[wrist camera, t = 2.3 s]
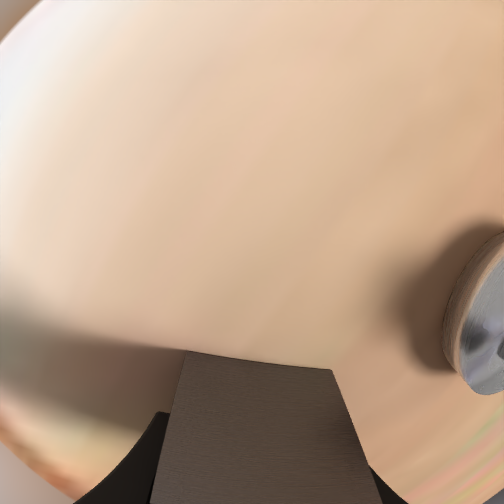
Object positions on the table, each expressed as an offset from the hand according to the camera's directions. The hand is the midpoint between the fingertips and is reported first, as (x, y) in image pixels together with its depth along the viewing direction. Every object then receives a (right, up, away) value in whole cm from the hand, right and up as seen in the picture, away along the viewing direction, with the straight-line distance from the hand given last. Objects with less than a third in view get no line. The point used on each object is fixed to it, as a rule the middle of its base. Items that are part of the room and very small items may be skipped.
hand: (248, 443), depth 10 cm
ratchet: (+17, +3, +1) cm, 18 cm away
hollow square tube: (0, 0, +2) cm, 2 cm away
